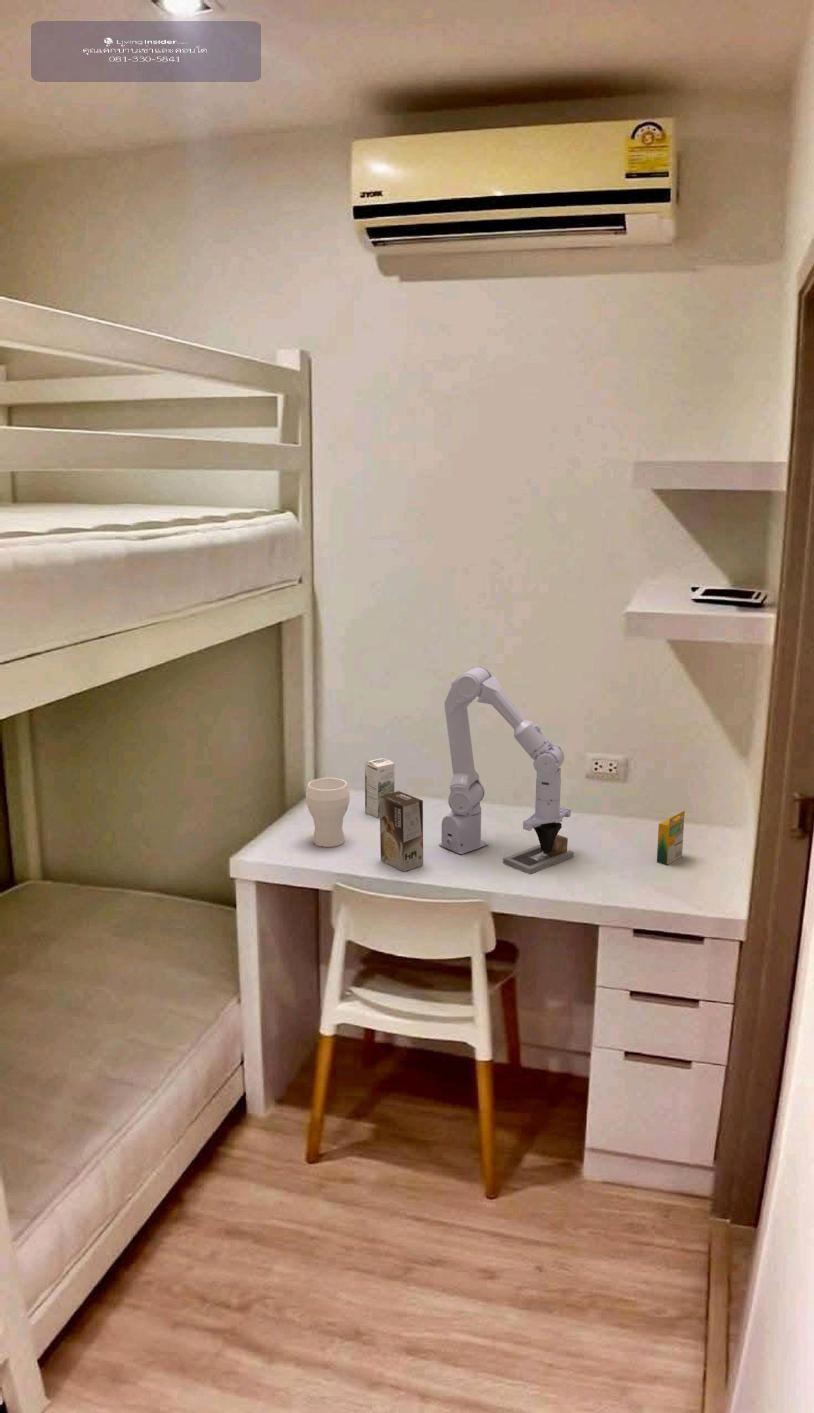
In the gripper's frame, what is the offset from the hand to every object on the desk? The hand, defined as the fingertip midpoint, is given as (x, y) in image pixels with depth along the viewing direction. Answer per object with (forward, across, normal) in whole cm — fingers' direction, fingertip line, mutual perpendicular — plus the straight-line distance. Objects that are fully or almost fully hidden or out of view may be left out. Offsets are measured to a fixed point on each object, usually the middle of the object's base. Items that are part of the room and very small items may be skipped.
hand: (546, 851), depth 238 cm
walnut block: (+1, +3, 0) cm, 4 cm away
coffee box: (+2, -28, +20) cm, 34 cm away
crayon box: (+2, +21, -20) cm, 29 cm away
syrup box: (+2, -11, +49) cm, 50 cm away
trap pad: (+1, -6, 0) cm, 6 cm away
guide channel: (+1, -2, 0) cm, 2 cm away
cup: (+2, -33, +42) cm, 53 cm away
